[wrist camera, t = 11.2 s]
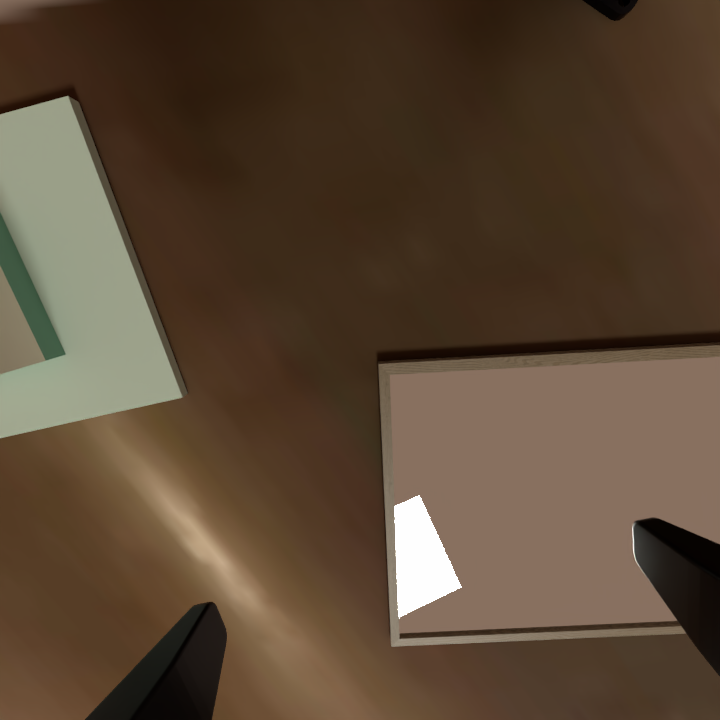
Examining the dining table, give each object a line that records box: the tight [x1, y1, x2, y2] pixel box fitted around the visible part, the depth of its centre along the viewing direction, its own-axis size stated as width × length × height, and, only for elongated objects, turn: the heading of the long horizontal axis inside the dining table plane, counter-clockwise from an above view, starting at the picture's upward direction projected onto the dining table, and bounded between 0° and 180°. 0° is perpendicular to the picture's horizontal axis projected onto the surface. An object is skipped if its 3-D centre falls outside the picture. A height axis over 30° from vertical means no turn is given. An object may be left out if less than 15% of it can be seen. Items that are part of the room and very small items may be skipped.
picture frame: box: [378, 342, 720, 647], centre depth 21 cm, size 19×1×28 cm
